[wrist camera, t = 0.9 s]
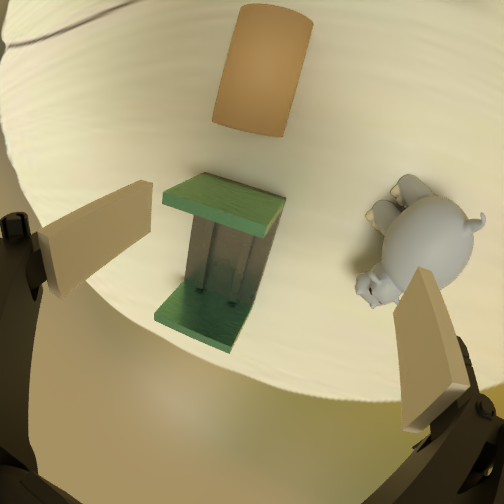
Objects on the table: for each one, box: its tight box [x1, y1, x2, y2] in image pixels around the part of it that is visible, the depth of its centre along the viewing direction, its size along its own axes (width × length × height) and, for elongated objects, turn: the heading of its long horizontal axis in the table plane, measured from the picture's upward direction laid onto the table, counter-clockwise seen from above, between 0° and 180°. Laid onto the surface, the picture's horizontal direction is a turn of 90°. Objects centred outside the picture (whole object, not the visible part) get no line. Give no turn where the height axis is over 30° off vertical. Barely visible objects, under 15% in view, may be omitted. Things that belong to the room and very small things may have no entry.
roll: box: [212, 4, 314, 137], centre depth 24 cm, size 12×7×7 cm, turn 166°
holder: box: [154, 172, 286, 354], centre depth 33 cm, size 16×10×9 cm, turn 166°
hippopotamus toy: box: [355, 175, 486, 309], centre depth 26 cm, size 11×15×10 cm
